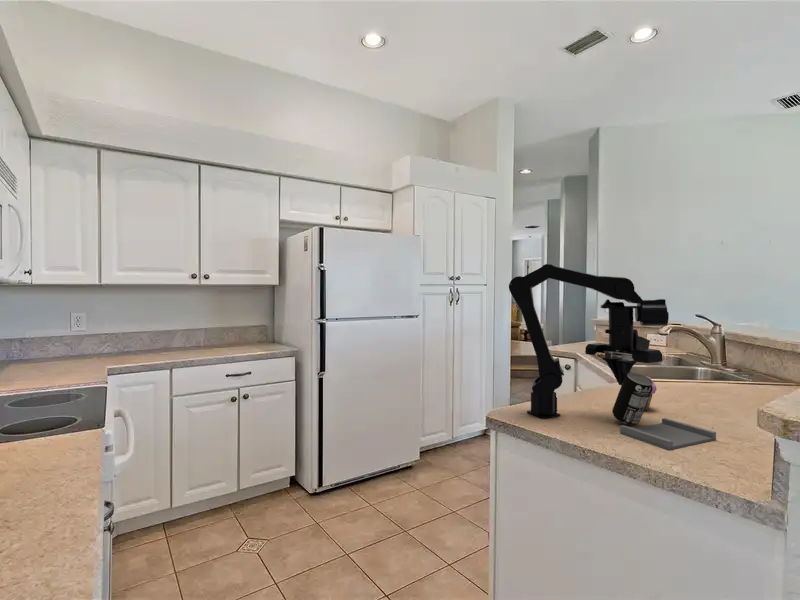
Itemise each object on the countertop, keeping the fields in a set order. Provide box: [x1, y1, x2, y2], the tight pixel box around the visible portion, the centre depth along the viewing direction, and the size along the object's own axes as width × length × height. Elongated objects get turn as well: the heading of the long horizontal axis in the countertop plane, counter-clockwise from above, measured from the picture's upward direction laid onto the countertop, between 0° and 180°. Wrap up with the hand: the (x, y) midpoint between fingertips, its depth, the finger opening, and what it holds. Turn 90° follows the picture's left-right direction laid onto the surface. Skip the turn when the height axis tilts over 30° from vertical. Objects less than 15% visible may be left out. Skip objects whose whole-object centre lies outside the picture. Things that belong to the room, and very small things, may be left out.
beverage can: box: [611, 372, 654, 426], centre depth 107 cm, size 7×7×12 cm
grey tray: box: [619, 417, 717, 451], centre depth 98 cm, size 16×12×2 cm
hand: (621, 385), depth 110 cm, fingers closed
